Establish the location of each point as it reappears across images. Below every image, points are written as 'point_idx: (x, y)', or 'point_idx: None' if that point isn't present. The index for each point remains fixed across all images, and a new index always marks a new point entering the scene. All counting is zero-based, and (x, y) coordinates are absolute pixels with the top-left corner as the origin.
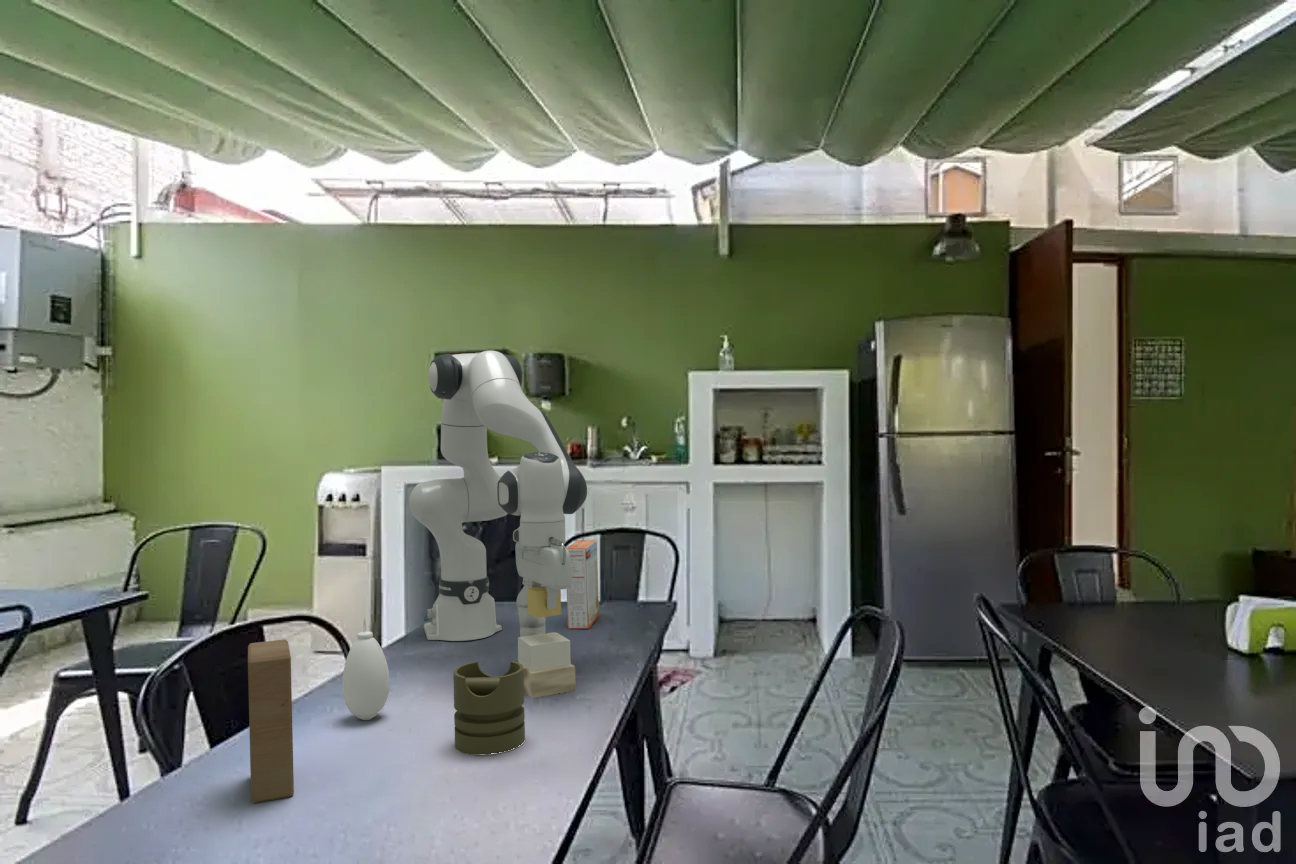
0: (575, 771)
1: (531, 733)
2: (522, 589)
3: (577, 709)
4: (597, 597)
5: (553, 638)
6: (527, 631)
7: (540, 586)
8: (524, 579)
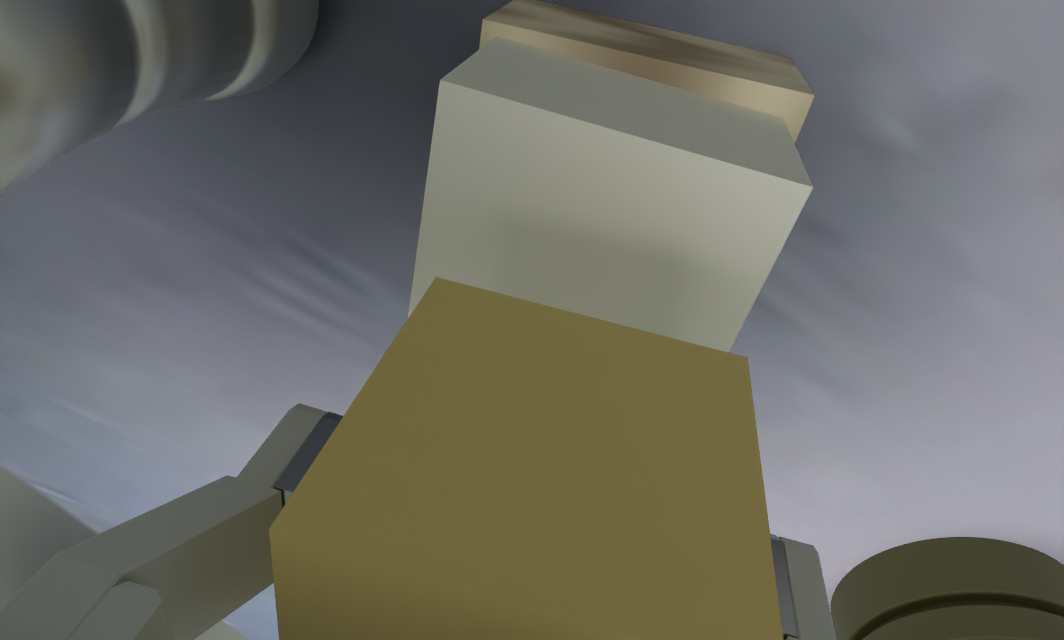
0: None
1: (1037, 521)
2: None
3: (1037, 255)
4: None
5: (627, 236)
6: (139, 114)
7: (165, 559)
8: None
